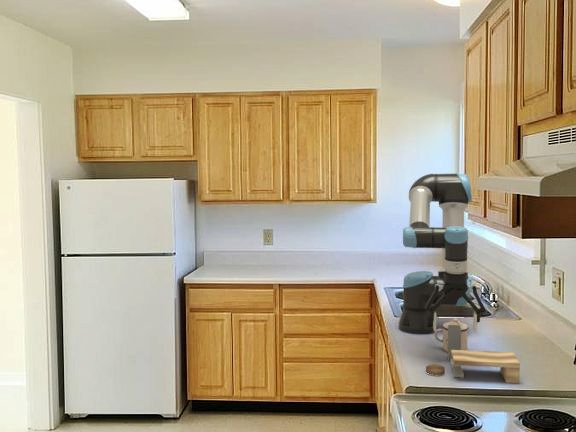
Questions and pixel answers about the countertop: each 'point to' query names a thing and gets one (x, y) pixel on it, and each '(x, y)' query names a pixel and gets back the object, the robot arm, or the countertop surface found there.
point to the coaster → (435, 369)
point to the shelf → (490, 362)
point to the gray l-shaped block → (454, 348)
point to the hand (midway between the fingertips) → (454, 330)
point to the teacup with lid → (445, 334)
